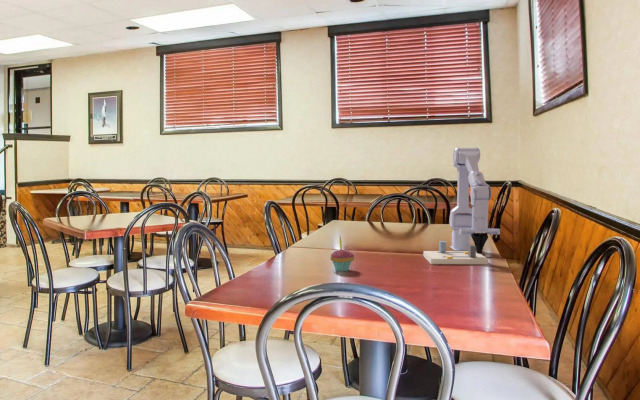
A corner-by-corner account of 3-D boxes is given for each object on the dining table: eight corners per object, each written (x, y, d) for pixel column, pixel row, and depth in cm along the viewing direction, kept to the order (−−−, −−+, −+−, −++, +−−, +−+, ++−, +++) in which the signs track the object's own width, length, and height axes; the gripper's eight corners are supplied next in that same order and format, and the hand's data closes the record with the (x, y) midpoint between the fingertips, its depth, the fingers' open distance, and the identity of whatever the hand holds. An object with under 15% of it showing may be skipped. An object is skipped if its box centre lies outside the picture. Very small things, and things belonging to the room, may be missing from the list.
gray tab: (468, 255, 175) (468, 245, 175) (473, 255, 175) (473, 245, 175) (470, 257, 172) (470, 246, 172) (475, 257, 172) (476, 246, 172)
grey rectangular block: (439, 250, 185) (439, 240, 184) (444, 250, 185) (444, 240, 184) (440, 252, 182) (440, 242, 181) (445, 252, 182) (446, 242, 181)
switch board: (423, 255, 186) (423, 249, 186) (475, 256, 185) (476, 249, 185) (431, 264, 171) (431, 257, 171) (488, 264, 170) (488, 257, 170)
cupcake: (326, 268, 165) (326, 235, 164) (347, 266, 168) (347, 233, 167) (336, 273, 157) (336, 238, 156) (358, 271, 160) (358, 237, 159)
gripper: (463, 218, 169) (462, 255, 170) (503, 218, 168) (502, 255, 169) (458, 216, 176) (457, 251, 177) (496, 216, 175) (495, 251, 176)
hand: (479, 253), depth 174 cm, fingers closed
